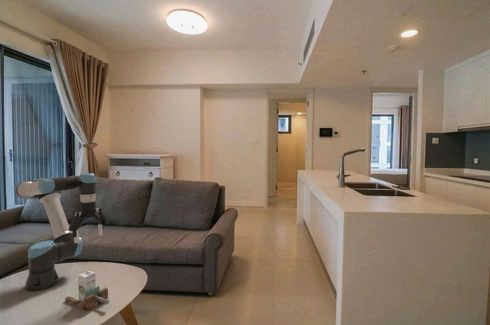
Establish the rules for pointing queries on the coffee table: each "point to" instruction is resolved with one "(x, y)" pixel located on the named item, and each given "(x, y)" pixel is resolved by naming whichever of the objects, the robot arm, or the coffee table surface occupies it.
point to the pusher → (96, 294)
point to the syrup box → (86, 283)
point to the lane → (88, 300)
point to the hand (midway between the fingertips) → (88, 239)
